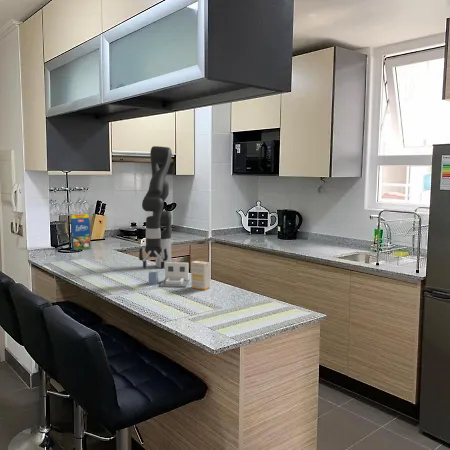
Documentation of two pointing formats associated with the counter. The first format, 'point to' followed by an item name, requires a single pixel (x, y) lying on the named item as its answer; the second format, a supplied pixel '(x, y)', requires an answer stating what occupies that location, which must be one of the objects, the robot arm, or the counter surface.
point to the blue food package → (80, 232)
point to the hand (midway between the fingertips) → (153, 268)
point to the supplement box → (200, 275)
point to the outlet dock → (175, 275)
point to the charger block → (153, 277)
